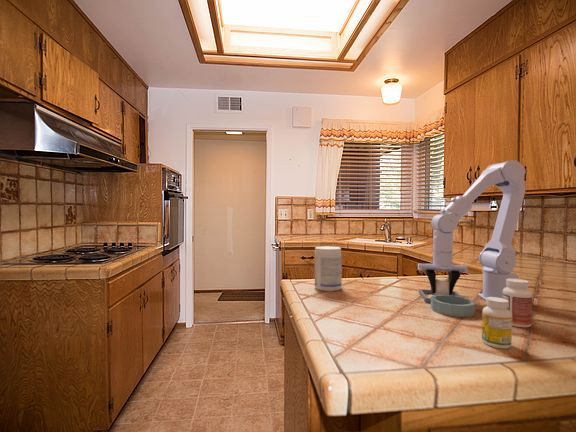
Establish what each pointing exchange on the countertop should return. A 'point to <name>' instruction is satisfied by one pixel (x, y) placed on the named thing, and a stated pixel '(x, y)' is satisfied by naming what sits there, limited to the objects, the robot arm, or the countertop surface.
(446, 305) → the bowl
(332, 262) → the supplement tub
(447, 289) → the pestle
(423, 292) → the empty gray rectangular frame
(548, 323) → the countertop surface
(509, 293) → the pill bottle
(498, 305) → the supplement bottle
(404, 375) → the countertop surface
